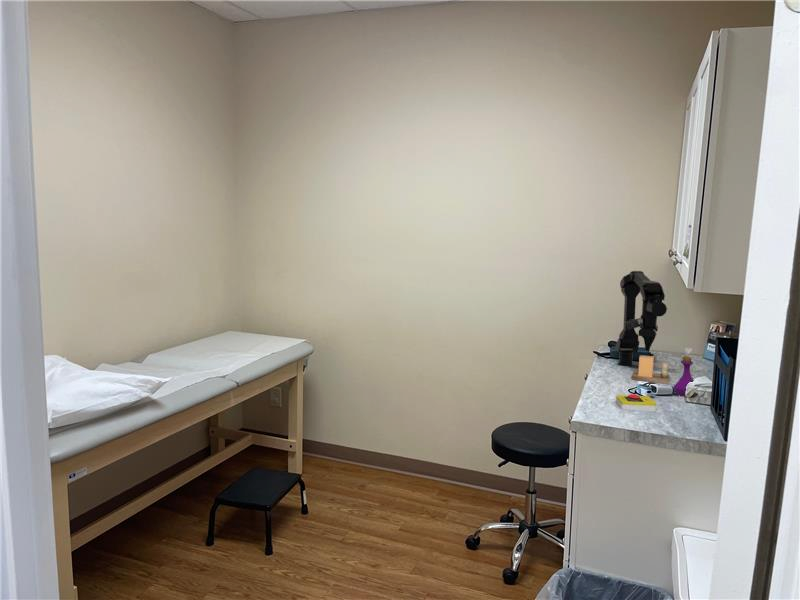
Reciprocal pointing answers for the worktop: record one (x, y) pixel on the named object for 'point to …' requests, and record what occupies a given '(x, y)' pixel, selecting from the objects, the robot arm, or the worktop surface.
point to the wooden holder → (655, 375)
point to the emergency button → (635, 403)
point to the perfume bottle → (684, 374)
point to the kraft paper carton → (646, 366)
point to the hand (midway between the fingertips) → (647, 350)
